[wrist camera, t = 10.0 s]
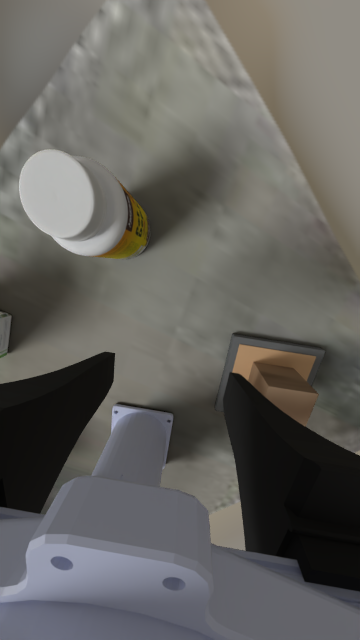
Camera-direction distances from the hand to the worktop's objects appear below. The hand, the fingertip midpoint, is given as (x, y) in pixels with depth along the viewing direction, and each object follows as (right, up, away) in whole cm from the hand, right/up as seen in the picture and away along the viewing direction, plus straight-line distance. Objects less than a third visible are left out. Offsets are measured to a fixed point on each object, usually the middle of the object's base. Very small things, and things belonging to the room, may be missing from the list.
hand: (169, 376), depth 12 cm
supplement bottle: (-5, +13, +8) cm, 16 cm away
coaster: (+11, -4, +11) cm, 16 cm away
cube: (+11, -4, +10) cm, 15 cm away
